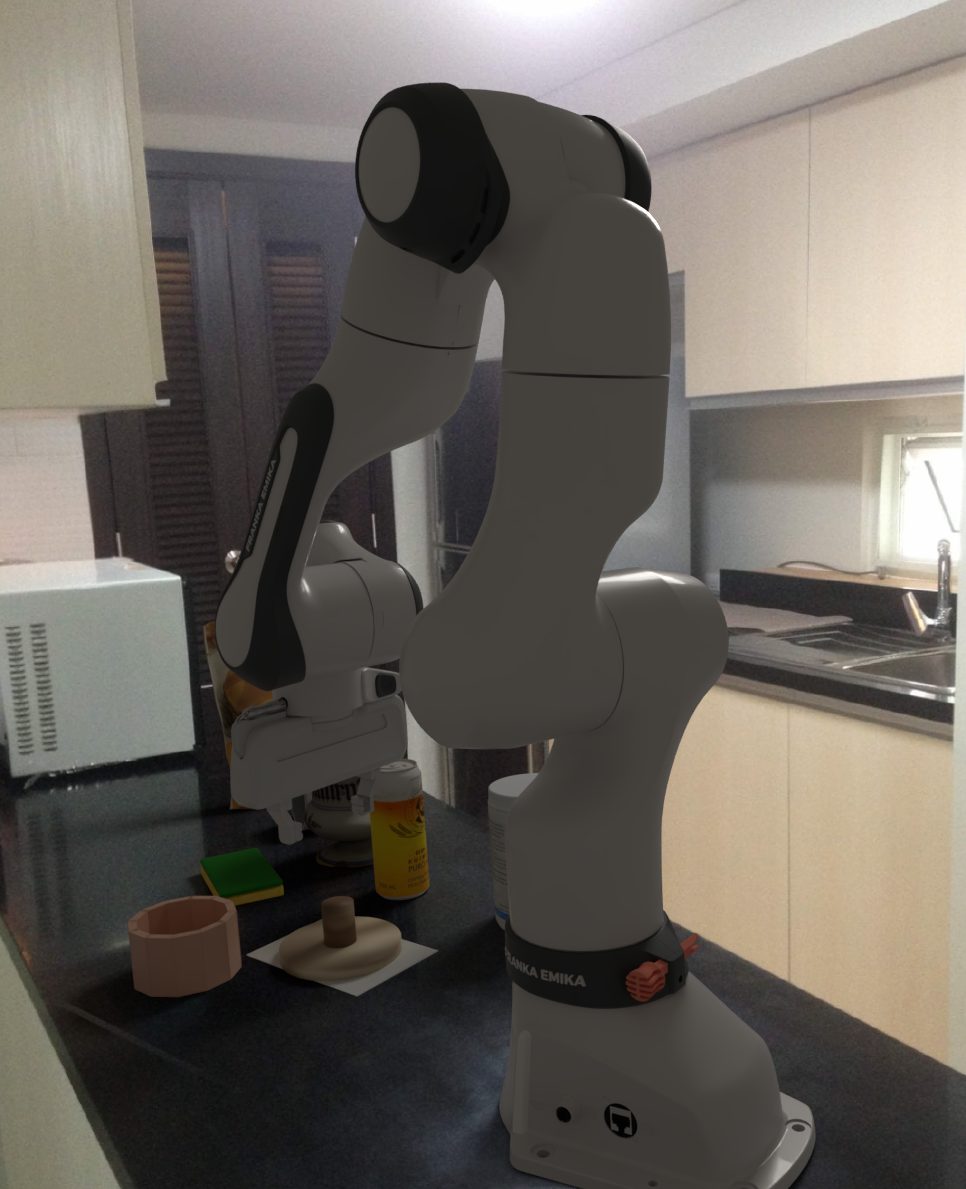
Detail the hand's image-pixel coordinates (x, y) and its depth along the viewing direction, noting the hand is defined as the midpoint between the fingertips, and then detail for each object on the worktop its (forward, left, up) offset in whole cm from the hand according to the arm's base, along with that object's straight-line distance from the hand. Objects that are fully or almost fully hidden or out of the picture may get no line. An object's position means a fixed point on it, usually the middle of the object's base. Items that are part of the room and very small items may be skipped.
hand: (328, 827), depth 106 cm
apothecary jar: (+19, -21, -13) cm, 32 cm away
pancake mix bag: (+48, -33, -13) cm, 60 cm away
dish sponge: (+24, -7, -14) cm, 29 cm away
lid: (-1, 0, -13) cm, 13 cm away
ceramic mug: (+34, -28, -14) cm, 46 cm away
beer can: (+5, -15, -13) cm, 21 cm away
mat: (-1, 0, -13) cm, 13 cm away
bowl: (+9, +11, -13) cm, 20 cm away
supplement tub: (-13, -17, -13) cm, 25 cm away
